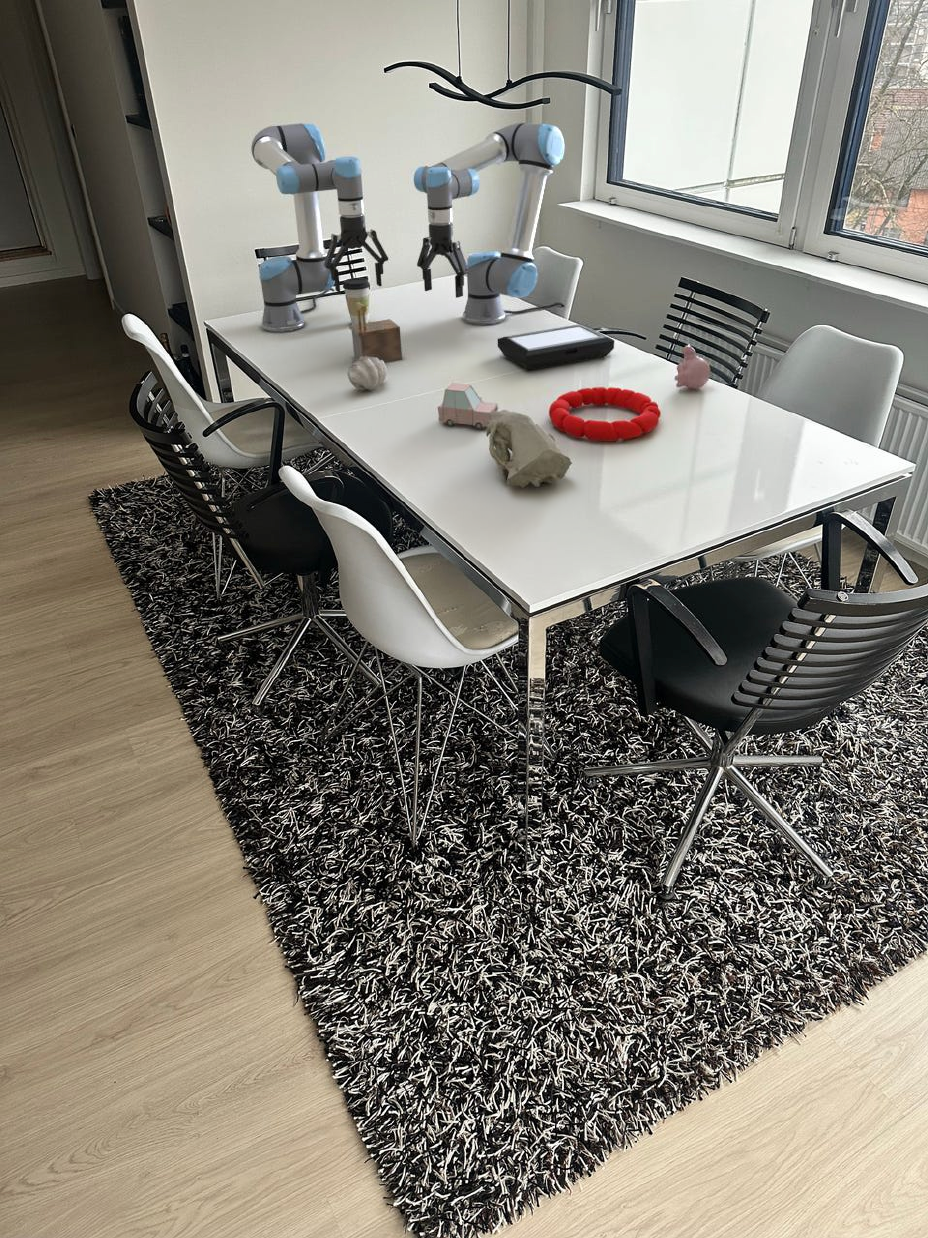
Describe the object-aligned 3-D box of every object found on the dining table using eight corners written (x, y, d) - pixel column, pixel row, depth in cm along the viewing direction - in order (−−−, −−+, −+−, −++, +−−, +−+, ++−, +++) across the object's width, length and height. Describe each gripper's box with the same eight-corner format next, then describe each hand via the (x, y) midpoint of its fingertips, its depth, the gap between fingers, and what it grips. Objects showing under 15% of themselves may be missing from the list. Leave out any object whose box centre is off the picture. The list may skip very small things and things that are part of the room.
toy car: (488, 432, 240) (488, 396, 234) (436, 426, 244) (434, 390, 239) (499, 419, 247) (499, 384, 241) (448, 413, 252) (447, 379, 246)
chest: (363, 365, 288) (360, 336, 283) (354, 357, 295) (351, 328, 290) (402, 359, 292) (400, 330, 287) (392, 351, 300) (389, 322, 294)
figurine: (665, 387, 264) (669, 347, 257) (693, 380, 268) (698, 340, 261) (686, 396, 257) (690, 355, 250) (714, 388, 262) (720, 348, 255)
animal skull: (496, 517, 219) (521, 479, 201) (463, 429, 225) (484, 384, 207) (557, 503, 225) (586, 465, 206) (523, 417, 231) (549, 373, 212)
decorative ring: (589, 435, 224) (684, 402, 234) (527, 398, 247) (617, 369, 256) (589, 461, 229) (683, 427, 238) (529, 422, 251) (617, 393, 260)
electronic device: (525, 353, 274) (497, 336, 289) (525, 373, 277) (497, 355, 292) (614, 337, 284) (582, 321, 299) (613, 356, 288) (581, 340, 303)
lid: (358, 336, 282) (355, 308, 277) (349, 328, 290) (346, 301, 285) (400, 329, 287) (398, 302, 282) (389, 322, 294) (387, 295, 289)
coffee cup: (372, 326, 323) (368, 283, 314) (345, 327, 323) (340, 284, 315) (374, 318, 331) (371, 276, 322) (348, 319, 331) (344, 277, 323)
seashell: (340, 388, 271) (336, 356, 265) (384, 379, 276) (382, 347, 271) (353, 398, 263) (350, 365, 258) (399, 389, 269) (396, 356, 263)
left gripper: (315, 221, 261) (323, 296, 273) (395, 212, 268) (400, 285, 281) (308, 217, 266) (317, 290, 278) (386, 208, 274) (391, 280, 286)
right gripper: (403, 220, 281) (408, 290, 293) (462, 229, 267) (465, 301, 279) (419, 216, 286) (423, 285, 298) (479, 225, 272) (480, 296, 284)
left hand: (358, 288), depth 279 cm, fingers open, 13 cm apart
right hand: (443, 293), depth 288 cm, fingers open, 13 cm apart
